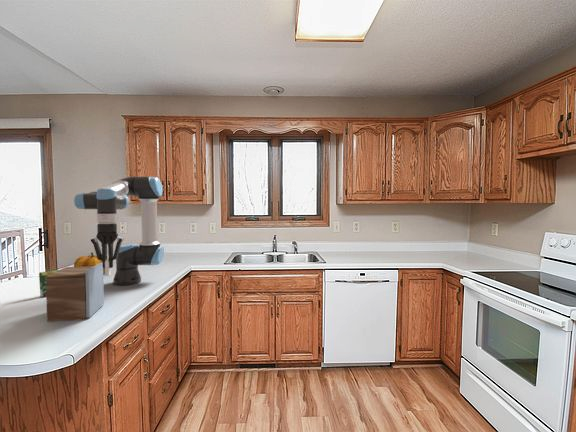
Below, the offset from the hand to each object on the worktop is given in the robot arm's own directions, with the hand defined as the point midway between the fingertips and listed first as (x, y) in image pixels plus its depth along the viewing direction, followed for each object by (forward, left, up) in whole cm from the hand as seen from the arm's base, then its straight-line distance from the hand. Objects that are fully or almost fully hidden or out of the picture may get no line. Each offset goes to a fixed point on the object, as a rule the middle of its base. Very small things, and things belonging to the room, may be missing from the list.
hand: (108, 275), depth 136 cm
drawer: (0, -12, -16) cm, 20 cm away
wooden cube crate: (0, -13, -17) cm, 21 cm away
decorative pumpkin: (-77, -33, -17) cm, 86 cm away
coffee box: (-31, -37, -17) cm, 51 cm away
